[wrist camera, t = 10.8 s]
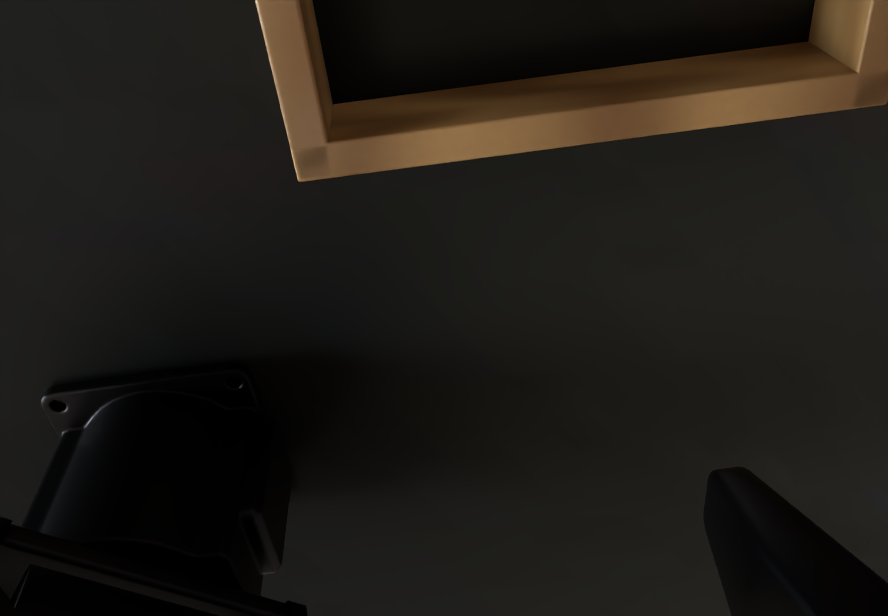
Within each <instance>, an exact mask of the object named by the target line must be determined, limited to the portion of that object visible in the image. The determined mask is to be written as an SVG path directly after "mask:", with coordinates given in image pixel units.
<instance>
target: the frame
mask: <svg viewBox="0 0 888 616" xmlns="http://www.w3.org/2000/svg"><path fill="white" fill-rule="evenodd" d="M255 2H256V6H257V11H258V15H259V19H260V23H261V27H262V32H263V36H264V40H265V44H266V48H267V52H268V57H269V61H270V65H271V69H272V73H273V77H274V82H275V86H276V90H277V94H278V98H279V102H280V107H281V111H282V115H283V119H284V123H285V128H286V132H287V136H288V140H289V144H290V148H291V154H292V158H293V162H294V166H295V170H296V174H297V179H298V181H299V182H303V181H311V180H318V179H326V178H333V177H341V176H349V175H356V174H364V173H371V172H379V171H386V170H394V169H401V168H409V167H417V166H424V165H432V164H439V163H447V162H454V161H462V160H469V159H477V158H485V157H492V156H500V155H507V154H515V153H522V152H530V151H538V150H545V149H553V148H560V147H568V146H575V145H583V144H590V143H598V142H606V141H613V140H621V139H628V138H636V137H643V136H651V135H658V134H666V133H674V132H681V131H689V130H696V129H704V128H711V127H719V126H727V125H734V124H742V123H749V122H757V121H764V120H772V119H779V118H787V117H795V116H802V115H810V114H817V113H825V112H832V111H840V110H847V109H855V108H863V107H870V106H878V105H885V104H886V103H887V100H888V0H815V3H814V9H813V15H812V22H811V28H810V34H809V40H808V42H801V43H793V44H786V45H778V46H770V47H763V48H755V49H748V50H740V51H733V52H725V53H718V54H710V55H702V56H695V57H687V58H680V59H672V60H665V61H657V62H649V63H642V64H634V65H627V66H619V67H612V68H604V69H597V70H589V71H581V72H574V73H566V74H559V75H551V76H544V77H536V78H529V79H521V80H513V81H506V82H498V83H491V84H483V85H476V86H468V87H461V88H453V89H445V90H438V91H430V92H423V93H415V94H408V95H400V96H393V97H385V98H377V99H370V100H362V101H355V102H347V103H340V104H333V102H332V97H331V92H330V87H329V82H328V77H327V72H326V67H325V62H324V57H323V52H322V47H321V42H320V37H319V32H318V27H317V22H316V16H315V11H314V6H313V1H312V0H255Z"/></svg>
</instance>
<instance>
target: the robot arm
mask: <svg viewBox="0 0 888 616" xmlns="http://www.w3.org/2000/svg"><path fill="white" fill-rule="evenodd" d="M229 377H237V378H239V379H240V380H238V381H234V380H231V379H230V378H229ZM56 400H60V401H62V402H64V403H59V402H57V401H56ZM41 407H42V409H43V411H44V413H45V415H46V416H47V418H48V420H49V422H50V424H51V425H52V427H53V429H54V431H55V433H56V434H57V436H58V438H59V440H60V442H59V444H58V446H57V448H56V450H55V452H54V455H53V457H52V459H51V461H50V463H49V465H48V468H47V470H46V472H45V474H44V476H43V478H42V481H41V483H40V485H39V487H38V489H37V491H36V494H35V496H34V498H33V500H32V502H31V504H30V507H29V509H28V511H27V513H26V515H25V517H24V519H23V522H22V524H21V526H16V525H13V524H11V523H12V520H9V519H6V518H2V517H0V616H307V609H306V606H305V605H302V604H298V603H295V602H291V601H287V602H286V603H283V602H279V601H276V600H272V599H269V598H266V597H262V596H260V595H261V588H262V581H263V575H264V574H272V573H276V571H277V570H278V569H279V568H280V566H281V565H282V558H283V549H284V540H285V532H286V523H287V514H288V505H289V502H290V487H291V479H292V468H291V465H290V462H289V459H288V456H287V453H286V450H285V446H284V443H283V440H282V437H281V434H280V431H279V428H278V425H277V422H276V420H274V419H273V418H272V417H271V416H266V415H265V412H264V409H263V406H262V403H261V400H260V397H259V394H258V391H257V388H256V385H255V382H254V379H253V376H252V373H251V371H250V369H249V368H248V367H247V366H245V365H244V364H241V363H238V362H230V363H222V364H215V365H207V366H200V367H192V368H185V369H177V370H169V371H162V372H154V373H147V374H139V375H132V376H124V377H117V378H109V379H101V380H94V381H86V382H79V383H71V384H64V385H56V386H53V387H50V388H49V389H48V390H46V392H45V394H44V396H43V398H42V401H41ZM704 525H705V530H706V534H707V537H708V540H709V543H710V547H711V550H712V553H713V556H714V560H715V563H716V566H717V569H718V573H719V576H720V579H721V582H722V586H723V589H724V592H725V595H726V599H727V602H728V605H729V608H730V612H731V615H732V616H888V583H887V582H886V581H885V580H884V579H882V578H881V577H880V576H879V575H877V574H876V573H875V572H874V571H872V570H871V569H870V568H869V567H868V566H866V565H865V564H864V563H863V562H861V561H860V560H859V559H858V558H856V557H855V556H854V555H853V554H852V553H850V552H849V551H848V550H847V549H845V548H844V547H843V546H842V545H840V544H839V543H838V542H837V541H836V540H834V539H833V538H832V537H831V536H829V535H828V534H827V533H826V532H824V531H823V530H822V529H821V528H820V527H818V526H817V525H816V524H815V523H813V522H812V521H811V520H810V519H808V518H807V517H806V516H805V515H804V514H802V513H801V512H800V511H799V510H797V509H796V508H795V507H794V506H793V505H791V504H790V503H789V502H788V501H786V500H785V499H784V498H783V497H781V496H780V495H779V494H778V493H777V492H775V491H774V490H773V489H772V488H770V487H769V486H768V485H767V484H765V483H764V482H763V481H762V480H761V479H759V478H758V477H757V476H756V475H754V474H753V473H752V472H751V471H749V470H748V469H746V468H743V467H733V468H725V469H718V470H714V471H712V472H711V473H710V475H709V478H708V484H707V491H706V499H705V506H704Z"/></svg>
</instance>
